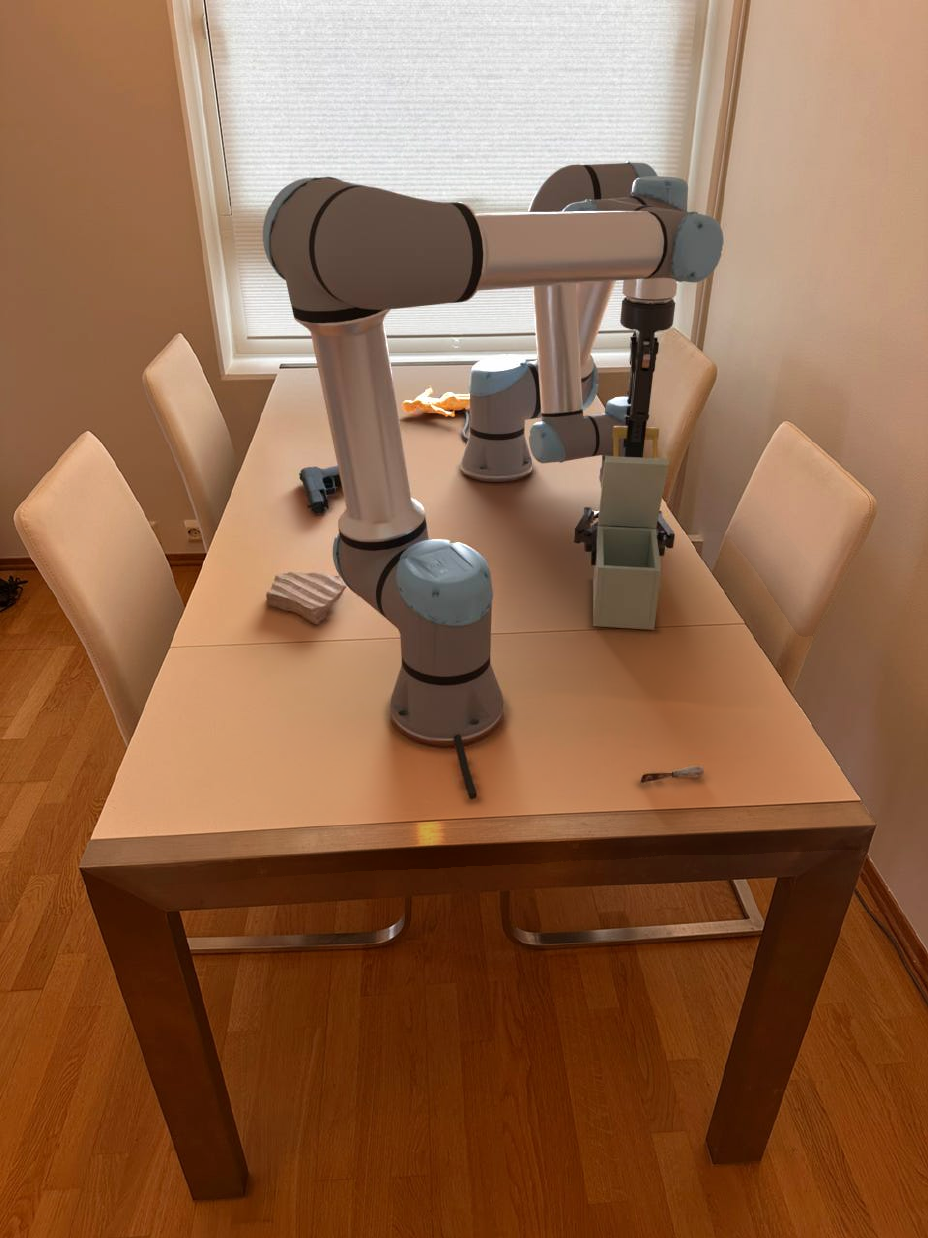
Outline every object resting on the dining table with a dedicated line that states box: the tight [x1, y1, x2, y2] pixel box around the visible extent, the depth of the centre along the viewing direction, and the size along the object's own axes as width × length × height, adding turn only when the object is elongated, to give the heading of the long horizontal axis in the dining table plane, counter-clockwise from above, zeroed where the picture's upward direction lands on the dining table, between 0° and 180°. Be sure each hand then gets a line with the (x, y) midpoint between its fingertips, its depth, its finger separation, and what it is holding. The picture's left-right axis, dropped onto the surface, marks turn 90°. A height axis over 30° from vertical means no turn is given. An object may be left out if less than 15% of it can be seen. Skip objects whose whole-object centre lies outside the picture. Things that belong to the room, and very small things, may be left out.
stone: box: [265, 571, 347, 625], centre depth 145 cm, size 13×12×2 cm
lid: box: [597, 426, 670, 528], centre depth 141 cm, size 15×9×9 cm
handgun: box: [298, 464, 342, 515], centre depth 181 cm, size 3×18×12 cm
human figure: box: [402, 385, 470, 418], centre depth 225 cm, size 20×20×4 cm
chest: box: [592, 526, 662, 631], centre depth 142 cm, size 14×9×10 cm, turn 173°
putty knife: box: [640, 765, 705, 784], centre depth 109 cm, size 1×8×2 cm, turn 103°
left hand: (632, 452), depth 139 cm, fingers open, 5 cm apart
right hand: (625, 559), depth 144 cm, fingers closed on chest, 9 cm apart
